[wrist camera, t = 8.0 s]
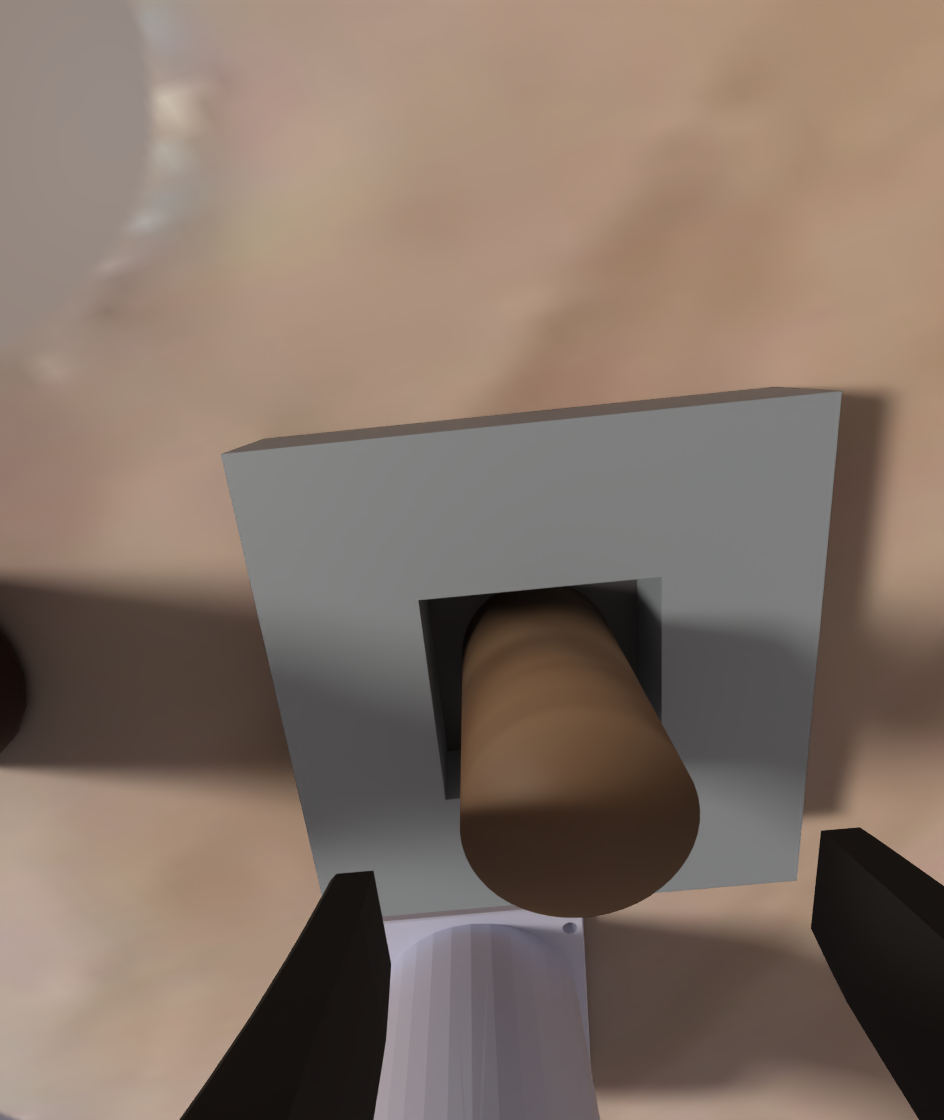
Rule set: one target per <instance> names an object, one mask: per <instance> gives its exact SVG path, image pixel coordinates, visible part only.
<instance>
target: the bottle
mask: <svg viewBox="0 0 944 1120" xmlns="http://www.w3.org/2000/svg"><path fill="white" fill-rule="evenodd" d="M26 706H27V704H26V692H25V681H24V675H23V672H22V670H21V668H20V666H19V663H18V661H17V659H16V657H15V654H14V652H13V650H12V648H11V645H10V644H9V643H8V642H7V641H6V640H5V638H4V637H3V636H2V635H1V634H0V753H1V752H2V750H3V749H4V748H5V747H6V746H7V745H8V744H9V743H10V741H11V740H12V739H13V738H14V737H15V736H16V734H17V732H18V731H19V728H20V724H21V721H22V718H23V715H24V712H25V709H26Z"/></svg>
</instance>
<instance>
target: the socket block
mask: <svg viewBox="0 0 944 1120" xmlns="http://www.w3.org/2000/svg"><path fill="white" fill-rule="evenodd" d="M841 396H842V391H832V390H816V389H800V388H784V387H769V388H759V389H749V390H739V391H729V392H719V393H710V394H700V395H690V396H680V397H670V398H661V399H651V400H641V401H631V402H621V403H611V404H602V405H592V406H582V407H572V408H562V409H552V410H543V411H533V412H523V413H513V414H503V415H494V416H484V417H474V418H464V419H454V420H444V421H435V422H425V423H415V424H405V425H395V426H386V427H376V428H366V429H356V430H346V431H336V432H327V433H317V434H307V435H297V436H287V437H277V438H268V439H262V440H259V441H256V442H253V443H251V444H248V445H245V446H242V447H239V448H237V449H234V450H231V451H228V452H225V453H223V454H221V457H222V461H223V465H224V470H225V474H226V479H227V483H228V487H229V492H230V496H231V500H232V505H233V509H234V513H235V518H236V522H237V527H238V531H239V535H240V540H241V544H242V548H243V553H244V557H245V562H246V566H247V570H248V575H249V579H250V583H251V588H252V592H253V596H254V601H255V605H256V610H257V614H258V618H259V623H260V627H261V631H262V636H263V640H264V645H265V649H266V653H267V658H268V662H269V666H270V671H271V675H272V680H273V684H274V688H275V693H276V697H277V701H278V706H279V710H280V714H281V719H282V723H283V728H284V732H285V736H286V741H287V745H288V749H289V754H290V758H291V763H292V767H293V771H294V776H295V780H296V784H297V789H298V793H299V797H300V802H301V806H302V811H303V815H304V819H305V824H306V828H307V832H308V837H309V841H310V846H311V850H312V854H313V859H314V863H315V867H316V872H317V876H318V881H319V885H320V889H321V894H322V895H323V893H324V891H325V889H326V888H327V886H328V884H329V882H330V880H331V879H332V878H333V877H334V876H335V875H336V874H339V873H350V872H362V871H373V870H374V876H375V881H376V886H377V892H378V897H379V902H380V907H381V913H382V916H393V915H405V914H416V913H428V912H440V911H451V910H463V909H474V908H486V907H497V906H509V905H513V904H511V903H509V902H507V901H505V900H504V899H502V898H501V897H499V896H497V895H496V894H495V893H494V892H492V891H491V890H490V889H489V888H488V887H487V886H486V885H485V884H484V883H483V882H482V881H481V880H480V879H479V878H478V877H477V875H476V874H475V872H474V871H473V870H472V868H471V866H470V864H469V862H468V860H467V858H466V856H465V853H464V850H463V847H462V843H461V837H460V784H461V722H462V660H463V641H464V636H465V633H466V630H467V627H468V625H469V623H470V621H471V619H472V618H473V616H474V615H475V613H476V612H477V611H478V609H479V608H480V607H481V606H482V605H483V604H484V603H485V602H486V601H487V600H489V599H490V598H491V597H493V596H494V595H496V594H497V593H499V592H509V591H520V590H530V589H541V588H551V587H561V586H567V587H570V588H572V589H574V590H576V591H578V592H580V593H581V594H583V595H584V596H586V597H587V598H588V599H589V600H591V601H592V602H593V603H594V604H595V605H596V606H597V608H598V609H599V611H600V612H601V613H602V615H603V617H604V619H605V620H606V622H607V624H608V626H609V628H610V630H611V631H612V633H613V635H614V637H615V639H616V641H617V642H618V644H619V646H620V648H621V650H622V652H623V653H624V655H625V657H626V659H627V661H628V663H629V664H630V666H631V668H632V670H633V672H634V674H635V675H636V677H637V679H638V681H639V683H640V685H641V686H642V688H643V690H644V692H645V694H646V696H647V697H648V699H649V701H650V703H651V705H652V707H653V709H654V710H655V712H656V714H657V716H658V718H659V720H660V721H661V723H662V725H663V727H664V729H665V731H666V732H667V734H668V736H669V738H670V740H671V742H672V743H673V745H674V747H675V749H676V751H677V753H678V754H679V756H680V758H681V760H682V762H683V764H684V765H685V767H686V769H687V771H688V773H689V775H690V777H691V779H692V780H693V782H694V785H695V788H696V791H697V794H698V798H699V805H700V824H699V830H698V835H697V838H696V841H695V844H694V847H693V849H692V851H691V853H690V855H689V857H688V858H687V860H686V861H685V863H684V864H683V866H682V867H681V869H680V870H679V871H678V872H677V873H676V874H675V875H674V877H673V878H672V879H671V880H670V881H669V882H667V883H666V884H665V885H664V886H663V887H662V888H661V889H659V890H658V891H656V892H655V893H659V892H670V891H682V890H693V889H705V888H716V887H728V886H739V885H751V884H762V883H774V882H785V881H797V871H798V860H799V850H800V839H801V828H802V817H803V806H804V796H805V785H806V774H807V763H808V752H809V742H810V731H811V720H812V709H813V698H814V688H815V677H816V666H817V655H818V644H819V634H820V623H821V612H822V601H823V590H824V580H825V569H826V558H827V547H828V536H829V526H830V515H831V504H832V493H833V482H834V472H835V461H836V450H837V439H838V428H839V418H840V407H841Z"/></svg>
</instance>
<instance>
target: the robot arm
mask: <svg viewBox="0 0 944 1120" xmlns="http://www.w3.org/2000/svg"><path fill="white" fill-rule="evenodd" d="M569 922H571V923H569ZM566 923H569V924H566ZM811 929H812V931H813V933H814V935H815V938H816V940H817V942H818V944H819V946H820V948H821V950H822V952H823V955H824V957H825V959H826V961H827V963H828V965H829V967H830V969H831V971H832V973H833V975H834V977H835V979H836V981H837V983H838V985H839V987H840V989H841V991H842V993H843V995H844V997H845V999H846V1001H847V1003H848V1005H849V1006H850V1008H851V1010H852V1011H853V1013H854V1015H855V1016H856V1018H857V1020H858V1021H859V1023H860V1024H861V1026H862V1028H863V1029H864V1031H865V1033H866V1034H867V1036H868V1038H869V1039H870V1041H871V1042H872V1044H873V1046H874V1047H875V1049H876V1051H877V1052H878V1054H879V1056H880V1057H881V1059H882V1060H883V1062H884V1064H885V1065H886V1067H887V1069H888V1070H889V1072H890V1073H891V1075H892V1077H893V1078H894V1080H895V1081H896V1083H897V1085H898V1086H899V1088H900V1090H901V1091H902V1093H903V1094H904V1096H905V1098H906V1099H907V1101H908V1102H909V1104H910V1106H911V1107H912V1109H913V1110H914V1112H915V1114H916V1115H917V1117H918V1119H919V1120H944V886H943V885H942V884H940V883H939V882H937V881H936V880H934V879H933V878H932V877H930V876H929V875H927V874H926V873H925V872H923V871H922V870H920V869H919V868H918V867H916V866H915V865H913V864H912V863H910V862H909V861H908V860H906V859H905V858H903V857H902V856H901V855H899V854H898V853H896V852H895V851H893V850H892V849H891V848H889V847H888V846H886V845H885V844H883V843H882V842H881V841H879V840H878V839H876V838H875V837H873V836H872V835H870V834H869V833H867V832H866V831H864V830H863V829H861V828H860V827H859V828H848V829H836V830H825V831H821V837H820V847H819V857H818V866H817V876H816V885H815V895H814V905H813V914H812V924H811ZM180 1120H600V1116H599V1110H598V1105H597V1099H596V1094H595V1088H594V1083H593V1077H592V1072H591V1059H590V1040H589V1021H588V1002H587V982H586V963H585V944H584V925H583V917H582V918H562V917H552V916H546V915H542V914H537V913H533V912H530V911H527V910H524V909H522V908H519V907H517V906H515V905H509V906H497V907H486V908H474V909H463V910H451V911H440V912H428V913H416V914H405V915H393V916H382V913H381V907H380V902H379V897H378V892H377V886H376V881H375V876H374V870H373V871H362V872H350V873H339V874H336V875H335V876H334V877H333V878H332V879H331V880H330V882H329V884H328V886H327V888H326V889H325V891H324V893H323V895H322V897H321V899H320V901H319V902H318V904H317V906H316V908H315V910H314V911H313V913H312V915H311V917H310V919H309V920H308V922H307V924H306V926H305V927H304V929H303V931H302V933H301V934H300V936H299V938H298V940H297V941H296V943H295V945H294V946H293V948H292V950H291V952H290V953H289V955H288V957H287V958H286V960H285V962H284V963H283V965H282V967H281V968H280V970H279V971H278V973H277V975H276V976H275V978H274V979H273V981H272V983H271V984H270V986H269V988H268V989H267V991H266V992H265V994H264V996H263V997H262V999H261V1000H260V1002H259V1004H258V1005H257V1007H256V1009H255V1010H254V1012H253V1013H252V1015H251V1016H250V1018H249V1019H248V1021H247V1023H246V1024H245V1026H244V1027H243V1029H242V1030H241V1032H240V1033H239V1034H238V1036H237V1037H236V1039H235V1040H234V1042H233V1043H232V1045H231V1046H230V1048H229V1049H228V1051H227V1052H226V1054H225V1055H224V1057H223V1058H222V1060H221V1061H220V1063H219V1064H218V1066H217V1067H216V1068H215V1070H214V1071H213V1073H212V1074H211V1076H210V1077H209V1079H208V1080H207V1082H206V1083H205V1085H204V1086H203V1088H202V1089H201V1090H200V1092H199V1093H198V1095H197V1096H196V1097H195V1099H194V1100H193V1102H192V1103H191V1104H190V1106H189V1107H188V1109H187V1110H186V1111H185V1113H184V1114H183V1115H182V1117H181V1118H180Z"/></svg>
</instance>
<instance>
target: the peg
mask: <svg viewBox="0 0 944 1120" xmlns="http://www.w3.org/2000/svg"><path fill="white" fill-rule="evenodd" d="M699 824H700V805H699V798H698V794H697V791H696V788H695V785H694V782H693V780H692V779H691V777H690V775H689V773H688V771H687V769H686V767H685V765H684V764H683V762H682V760H681V758H680V756H679V754H678V753H677V751H676V749H675V747H674V745H673V743H672V742H671V740H670V738H669V736H668V734H667V732H666V731H665V729H664V727H663V725H662V723H661V721H660V720H659V718H658V716H657V714H656V712H655V710H654V709H653V707H652V705H651V703H650V701H649V699H648V697H647V696H646V694H645V692H644V690H643V688H642V686H641V685H640V683H639V681H638V679H637V677H636V675H635V674H634V672H633V670H632V668H631V666H630V664H629V663H628V661H627V659H626V657H625V655H624V653H623V652H622V650H621V648H620V646H619V644H618V642H617V641H616V639H615V637H614V635H613V633H612V631H611V630H610V628H609V626H608V624H607V622H606V620H605V619H604V617H603V615H602V613H601V612H600V611H599V609H598V608H597V606H596V605H595V604H594V603H593V602H592V601H591V600H589V599H588V598H587V597H586V596H584V595H583V594H581V593H580V592H578V591H576V590H574V589H572V588H570V587H567V586H561V587H551V588H541V589H530V590H520V591H509V592H499V593H497V594H496V595H494V596H493V597H491V598H490V599H489V600H487V601H486V602H485V603H484V604H483V605H482V606H481V607H480V608H479V609H478V611H477V612H476V613H475V615H474V616H473V618H472V619H471V621H470V623H469V625H468V627H467V630H466V633H465V636H464V641H463V660H462V722H461V784H460V837H461V843H462V847H463V850H464V853H465V856H466V858H467V860H468V862H469V864H470V866H471V868H472V870H473V871H474V872H475V874H476V875H477V877H478V878H479V879H480V880H481V881H482V882H483V883H484V884H485V885H486V886H487V887H488V888H489V889H490V890H491V891H492V892H494V893H495V894H496V895H497V896H499V897H501V898H502V899H504V900H505V901H507V902H509V903H511V904H513V905H515V906H517V907H519V908H522V909H524V910H527V911H530V912H533V913H537V914H542V915H546V916H552V917H562V918H582V917H593V916H598V915H604V914H609V913H612V912H615V911H619V910H622V909H624V908H627V907H629V906H632V905H634V904H636V903H638V902H640V901H642V900H644V899H646V898H647V897H649V896H651V895H652V894H653V893H655V892H656V891H658V890H659V889H661V888H662V887H663V886H664V885H665V884H666V883H667V882H669V881H670V880H671V879H672V878H673V877H674V875H675V874H676V873H677V872H678V871H679V870H680V869H681V867H682V866H683V864H684V863H685V861H686V860H687V858H688V857H689V855H690V853H691V851H692V849H693V847H694V844H695V841H696V838H697V835H698V830H699Z"/></svg>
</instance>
